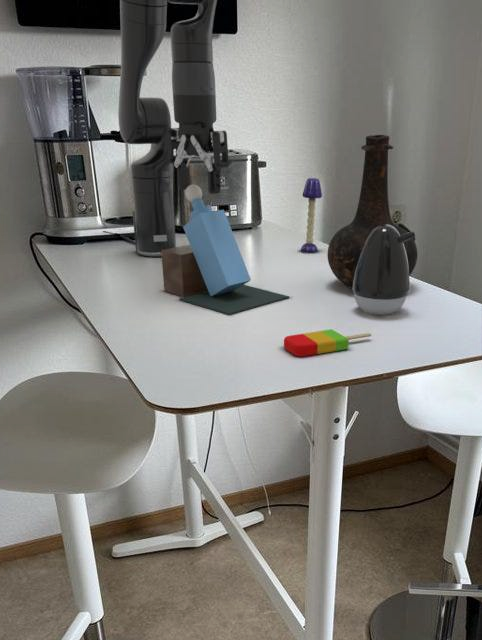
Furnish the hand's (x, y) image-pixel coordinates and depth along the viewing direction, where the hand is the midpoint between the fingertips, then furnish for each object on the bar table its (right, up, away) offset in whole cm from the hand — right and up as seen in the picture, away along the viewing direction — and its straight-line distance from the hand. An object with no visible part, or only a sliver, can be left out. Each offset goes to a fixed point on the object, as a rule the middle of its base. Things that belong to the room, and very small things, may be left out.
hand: (199, 191), depth 131 cm
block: (-2, -15, +10) cm, 19 cm away
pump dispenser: (+34, -23, -3) cm, 41 cm away
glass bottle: (+34, -15, +13) cm, 39 cm away
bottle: (+3, -17, +7) cm, 19 cm away
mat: (+6, -19, +4) cm, 21 cm away
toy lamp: (+23, +2, +42) cm, 48 cm away
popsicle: (+23, -33, -19) cm, 45 cm away
